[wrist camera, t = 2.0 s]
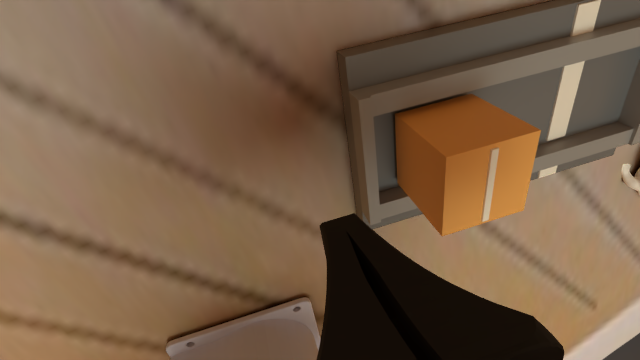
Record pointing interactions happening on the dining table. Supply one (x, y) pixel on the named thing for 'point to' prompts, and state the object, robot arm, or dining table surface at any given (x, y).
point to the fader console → (497, 88)
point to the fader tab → (464, 161)
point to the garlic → (631, 178)
